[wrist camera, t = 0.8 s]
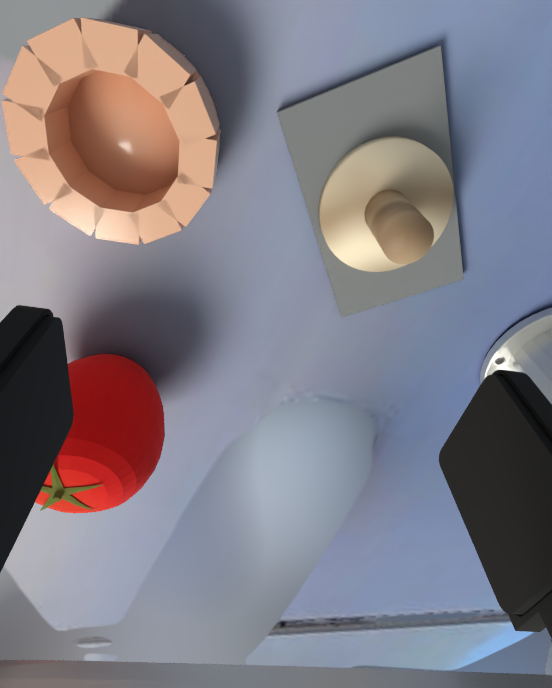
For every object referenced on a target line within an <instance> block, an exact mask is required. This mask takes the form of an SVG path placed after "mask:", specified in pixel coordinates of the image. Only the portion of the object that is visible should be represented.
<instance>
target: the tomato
mask: <svg viewBox="0 0 552 688" xmlns="http://www.w3.org/2000/svg"><path fill="white" fill-rule="evenodd" d="M68 371H69V379H70V387H71V394H72V402H73V410H74V418H73V423H72V427H71V429H70V431H69V433H68V435H67V438H66V440H65V442H64V444H63V446H62V448H61V450H60V452H59V454H58V456H57V458H56V460H55V462H54V464H53V466H52V468H51V470H50V472H49V474H48V476H47V478H46V480H45V482H44V484H43V486H42V489H41V491H40V493H39V495H38V497H37V499H36V501H35V502H36V503H38V504H40V505H43V507H42V508H41V510H43V509H45V508H47V507H48V508H51V509H53V510H57V511H61V512H67V513H88V512H97V511H102V510H106V509H110V508H113V507H116V506H119V505H120V504H122V503H124V502H125V501H127V500H128V499H129V498H130V497H132V496H133V495H134V494H135V493H137V492H138V491H139V490H140V489H141V488H142V487H143V485H144V484H145V483H146V481H147V480H148V479H149V477H150V476H151V474H152V473H153V471H154V470H155V468H156V465H157V463H158V461H159V459H160V456H161V451H162V446H163V441H164V436H165V432H164V412H163V405H162V402H161V398H160V395H159V392H158V390H157V388H156V385H155V384H154V382H153V380H152V378H151V377H150V376H149V374H148V373H147V371H145V370H144V369H143V368H142V367H141V366H140V365H139V364H137V363H135V362H134V361H132V360H130V359H128V358H125V357H123V356H119V355H114V354H98V355H92V356H88V357H85V358H82V359H79V360H75V361H73V362H71V363H69V364H68ZM41 510H40V511H41Z"/></svg>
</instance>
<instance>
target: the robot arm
mask: <svg viewBox="0 0 552 688" xmlns="http://www.w3.org/2000/svg"><path fill="white" fill-rule="evenodd" d="M480 383H481V385H480V387H479V389H478V390H477V392H476V393H475V395H474V397H473V398H472V400H471V402H470V403H469V405H468V407H467V408H466V410H465V411H464V413H463V415H462V416H461V418H460V420H459V421H458V423H457V425H456V426H455V428H454V429H453V431H452V433H451V434H450V436H449V438H448V439H447V441H446V443H445V444H444V446H443V447H442V449H441V451H440V454H439V463H440V467H441V469H442V471H443V474H444V476H445V478H446V481H447V483H448V485H449V488H450V490H451V492H452V495H453V497H454V500H455V502H456V504H457V507H458V509H459V511H460V514H461V516H462V518H463V521H464V523H465V525H466V528H467V530H468V532H469V535H470V537H471V540H472V542H473V544H474V547H475V549H476V551H477V554H478V556H479V558H480V561H481V563H482V565H483V568H484V570H485V572H486V575H487V577H488V580H489V582H490V584H491V587H492V589H493V591H494V594H495V596H496V598H497V601H498V603H499V605H500V607H501V608H502V609H503V611H505V612H506V613H507V614H508V615H509V617H510V620H511V622H512V624H513V626H514V629H515V631H530V632H540V631H542V630H543V629H544V628H547V630H548V632H549V634H550V636H551V642H550V648H549V653H548V659H547V665H546V670H545V675H537V674H535V675H534V674H509V673H482V672H480V673H479V672H455V671H424V670H392V669H361V668H360V669H359V668H328V667H295V666H262V665H225V664H224V665H223V664H186V663H148V662H110V661H54V660H51V661H50V660H0V688H552V308H548V309H546V310H543V311H541V312H538V313H536V314H533V315H531V316H530V317H528V318H526V319H524V320H522V321H521V322H519V323H518V324H516V325H515V326H514V327H512V328H511V329H509V330H508V331H507V332H506V333H505V334H504V335H503V336H502V337H501V338H500V339H499V340H497V342H496V343H495V344H494V345H493V347H492V348H491V349H490V351H489V352H488V354H487V356H486V358H485V360H484V362H483V365H482V368H481V372H480ZM73 418H74V410H73V402H72V394H71V387H70V379H69V371H68V363H67V356H66V348H65V340H64V333H63V325H62V321H61V319H60V318H57V317H53V313H52V312H51V310H49V309H44V308H36V307H29V306H21V305H19V306H16V307H15V308H13V309H12V310H11V312H10V313H9V314H8V315H7V316H6V317H5V318H4V319H3V320H2V321H1V322H0V572H1V570H2V568H3V566H4V564H5V562H6V560H7V558H8V556H9V554H10V552H11V550H12V548H13V546H14V544H15V542H16V540H17V537H18V535H19V533H20V531H21V529H22V527H23V525H24V523H25V521H26V519H27V517H28V515H29V513H30V511H31V509H32V507H33V505H34V503H35V501H36V499H37V497H38V495H39V493H40V491H41V489H42V486H43V484H44V482H45V480H46V478H47V476H48V474H49V472H50V470H51V468H52V466H53V464H54V462H55V460H56V458H57V456H58V454H59V452H60V450H61V448H62V446H63V444H64V442H65V440H66V438H67V435H68V433H69V431H70V429H71V427H72V423H73Z"/></svg>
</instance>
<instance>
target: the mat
mask: <svg viewBox="0 0 552 688" xmlns="http://www.w3.org/2000/svg"><path fill="white" fill-rule="evenodd" d="M277 113H278V116H279V120H280V123H281V126H282V129H283V132H284V136H285V139H286V142H287V145H288V148H289V152H290V155H291V158H292V161H293V164H294V168H295V171H296V174H297V177H298V180H299V183H300V187H301V190H302V193H303V196H304V199H305V203H306V206H307V209H308V212H309V215H310V219H311V222H312V225H313V228H314V231H315V235H316V238H317V241H318V244H319V247H320V251H321V254H322V257H323V260H324V263H325V267H326V270H327V273H328V276H329V279H330V283H331V286H332V289H333V292H334V295H335V298H336V302H337V305H338V308H339V311H340V314H341V318H342V317H345V316H348V315H351V314H354V313H358V312H361V311H364V310H367V309H370V308H374V307H377V306H380V305H383V304H386V303H389V302H393V301H396V300H399V299H402V298H405V297H408V296H412V295H415V294H418V293H421V292H424V291H427V290H431V289H434V288H437V287H440V286H443V285H446V284H450V283H453V282H456V281H459V280H462V279H464V278H463V268H462V258H461V247H460V237H459V227H458V217H457V207H456V196H455V186H454V176H453V166H452V155H451V145H450V135H449V125H448V115H447V104H446V94H445V84H444V74H443V63H442V53H441V46H435V47H433V48H430V49H428V50H425V51H423V52H420V53H418V54H416V55H413V56H411V57H408V58H406V59H403V60H401V61H398V62H396V63H394V64H391V65H389V66H386V67H384V68H381V69H379V70H377V71H374V72H372V73H369V74H367V75H364V76H362V77H359V78H357V79H355V80H352V81H350V82H347V83H345V84H342V85H340V86H337V87H335V88H333V89H330V90H328V91H325V92H323V93H320V94H318V95H316V96H313V97H311V98H308V99H306V100H303V101H301V102H298V103H296V104H294V105H291V106H289V107H286V108H284V109H281V110H279V111H277ZM386 136H399V137H406V138H410V139H413V140H415V141H417V142H420V143H421V144H423V145H425V146H426V147H428V148H429V149H431V150H432V151H434V152H435V153H436V154H437V155H438V156H439V157H440V158H441V159H442V161H443V162H444V164H445V165H446V167H447V169H448V171H449V173H450V176H451V179H452V184H453V206H452V211H451V215H450V217H449V220H448V223H447V225H446V227H445V229H444V231H443V232H442V234H441V235H440V237H439V238H438V240H437V241H436V242H435V243H434V245H433V246H432V247H431V248H430V249H429V251H428V252H427V253H426V254H425V255H424V256H423V257H422V258H421V259H419V260H417V261H416V262H413V263H410V264H407V265H405V266H403V267H400V268H397V269H394V270H390V271H384V272H368V271H363V270H358V269H356V268H353V267H351V266H349V265H347V264H345V263H344V262H342V261H341V260H340V259H338V258H337V257H336V256H335V255H334V253H333V252H332V251H331V250H330V248H329V246H328V245H327V243H326V241H325V238H324V236H323V233H322V230H321V227H320V222H319V214H318V210H319V200H320V195H321V191H322V188H323V185H324V183H325V181H326V179H327V177H328V175H329V174H330V172H331V170H332V169H333V168H334V166H335V165H336V164H337V163H338V162H339V161H340V160H341V159H342V158H343V156H345V155H346V154H347V153H348V152H350V151H351V150H352V149H354V148H355V147H357V146H359V145H360V144H363V143H365V142H367V141H369V140H373V139H376V138H380V137H386Z"/></svg>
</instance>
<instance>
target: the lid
mask: <svg viewBox="0 0 552 688" xmlns="http://www.w3.org/2000/svg"><path fill="white" fill-rule="evenodd" d="M452 206H453V184H452V179H451V176H450V173H449V171H448V169H447V167H446V165H445V164H444V162H443V161H442V159H441V158H440V157H439V156H438V155H437V154H436V153H435V152H434V151H432V150H431V149H429V148H428V147H426V146H425V145H423V144H421V143H420V142H417V141H415V140H413V139H410V138H406V137H399V136H386V137H380V138H376V139H373V140H369V141H367V142H365V143H363V144H360V145H359V146H357V147H355V148H354V149H352V150H351V151H350V152H348V153H347V154H346V155H345V156H343V158H342V159H341V160H340V161H339V162H338V163H337V164H336V165H335V166H334V168H333V169H332V170H331V172H330V174H329V175H328V177H327V179H326V181H325V183H324V185H323V188H322V191H321V195H320V200H319V210H318V214H319V222H320V227H321V230H322V233H323V236H324V238H325V241H326V243H327V245H328V246H329V248H330V250H331V251H332V252H333V253H334V255H335V256H336V257H337V258H338V259H340V260H341V261H342V262H344V263H345V264H347V265H349V266H351V267H353V268H356V269H358V270H363V271H368V272H384V271H390V270H394V269H397V268H400V267H403V266H405V265H407V264H410V263H413V262H416V261H417V260H419V259H421V258H422V257H423V256H424V255H425V254H426V253H427V252H428V251H429V249H430V248H431V247H432V246H433V245H434V243H435V242H436V241H437V240H438V238H439V237H440V235H441V234H442V232H443V231H444V229H445V227H446V225H447V223H448V220H449V217H450V215H451V211H452Z"/></svg>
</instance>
